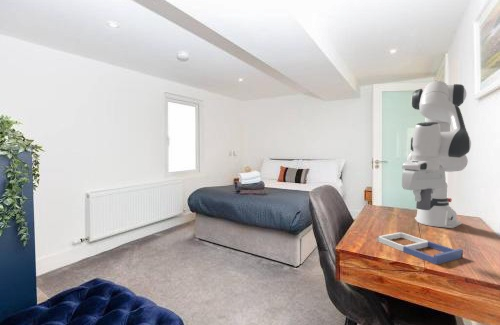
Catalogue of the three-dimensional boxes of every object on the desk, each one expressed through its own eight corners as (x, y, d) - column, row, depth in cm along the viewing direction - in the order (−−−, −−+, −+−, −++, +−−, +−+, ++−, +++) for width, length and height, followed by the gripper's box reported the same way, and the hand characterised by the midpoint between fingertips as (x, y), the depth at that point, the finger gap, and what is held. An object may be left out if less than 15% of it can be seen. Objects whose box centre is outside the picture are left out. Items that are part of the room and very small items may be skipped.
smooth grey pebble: (421, 207, 100) (422, 187, 100) (432, 209, 96) (434, 188, 96) (413, 207, 99) (414, 187, 98) (425, 210, 94) (426, 189, 94)
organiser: (400, 236, 115) (401, 229, 114) (462, 257, 92) (462, 249, 92) (376, 241, 109) (376, 234, 109) (436, 264, 87) (436, 256, 86)
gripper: (434, 164, 103) (432, 197, 104) (399, 164, 96) (397, 200, 96) (451, 164, 98) (449, 200, 98) (415, 165, 90) (413, 204, 90)
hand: (423, 200), depth 97 cm, fingers closed on smooth grey pebble, 4 cm apart
